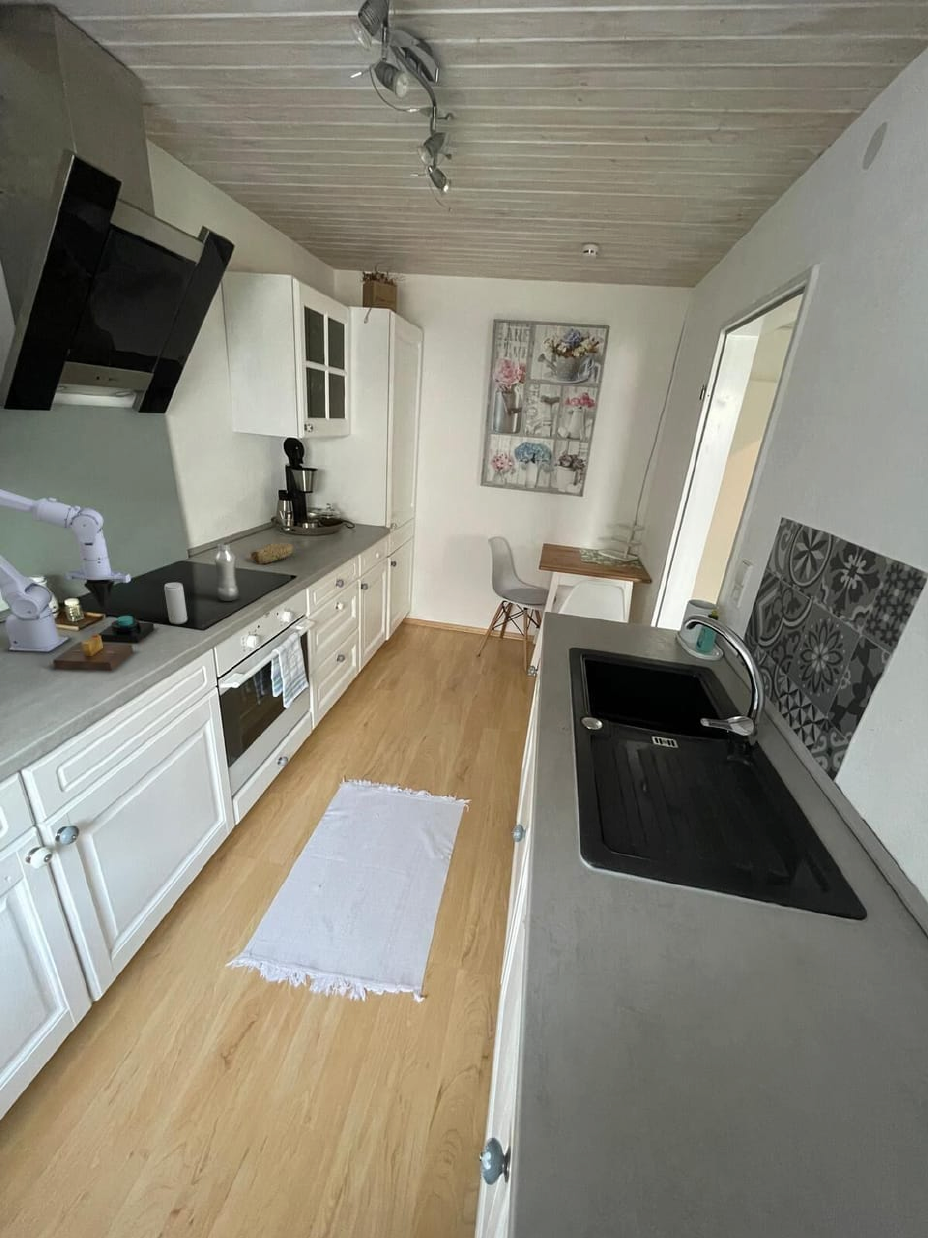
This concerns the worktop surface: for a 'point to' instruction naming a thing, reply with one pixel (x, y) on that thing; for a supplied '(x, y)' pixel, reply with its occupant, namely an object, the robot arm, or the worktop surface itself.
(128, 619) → the lock button
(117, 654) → the plate
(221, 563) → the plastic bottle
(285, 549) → the tan oblong lump
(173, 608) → the beverage can
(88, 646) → the thumbturn
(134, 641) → the lock button box
